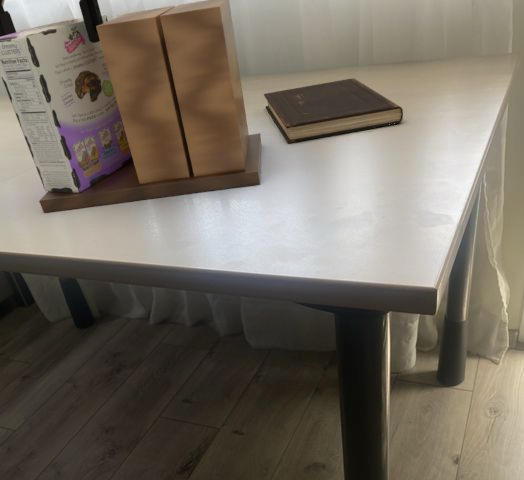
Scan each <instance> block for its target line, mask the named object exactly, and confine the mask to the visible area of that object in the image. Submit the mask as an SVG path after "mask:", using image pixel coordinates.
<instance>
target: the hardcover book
mask: <svg viewBox="0 0 524 480" xmlns="http://www.w3.org/2000/svg"><path fill="white" fill-rule="evenodd" d="M263 96H264V98H265V100H266V102H267V105H266V106H265V109H266V110H267V113H268V114H269V115H270V117H271V118H272V120H273V122H274V124H276V126H277V128H278V130H279V132H280V133H281V134H282V136H283V137H284V139H285V141H286V142H287V144H293V143H294V144H295V143H298V142H304V141H310V140H316V139H322V138H326V137H327V138H328V137H333V136H339V135H344V134H349V133H350V134H351V133H355V132H360V131H366V130H365V129H367V130H371V129H370V128H373V129H375V128H374V127H378V128H380V127H379V126H384V125H389V124H394V123H399V124H400V123H401V122H402V121H403V117H404V109H403V107H402V106H400V105H398V104H397V103H395V102H393V101H392V100H390V99H388V98H387V97H386V96H384V95H382V94H381V93H379V92H377V91H376V90H374V89H372V88H371V87H369V86H367V85H366V84H364V83H362V82H361V81H359V80H358V79H356V78H355V77H352V78H346V79H341V80H334V81H329V82H324V83H319V84H318V83H317V84H311V85H307V86H301V87H294V88H290V89H289V88H288V89H283V90H279V91H278V90H277V91H272V92H267V93H264V94H263ZM384 127H385V126H384Z"/></svg>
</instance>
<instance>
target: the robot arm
mask: <svg viewBox="0 0 524 480" xmlns="http://www.w3.org/2000/svg"><path fill="white" fill-rule="evenodd" d="M5 1H6V0H0V37H2V36H5V35H9V34H13V33H16V32H17V30H16V28H15V24H14V21H13V19H12V16H11V13H10V12H9V11H8V10H5V8H4V4H5ZM78 5H79V8H80V12H81V16H82V18H83V20H84V23H85V27H86V30H87V34H88V37H89V41H90V42H92V43H96V42H99V41H100V39H99V35H98V32H97V28H96V26H98V25H100V24H103V20H102V16H101V15H102V12H101V8H100V5H99V0H79V1H78Z"/></svg>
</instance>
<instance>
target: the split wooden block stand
mask: <svg viewBox="0 0 524 480" xmlns="http://www.w3.org/2000/svg"><path fill="white" fill-rule="evenodd" d="M231 10H232V9H231V4H230V0H201V1H195V2H188V3H181V4H178V5H177V6H175V5H171V6H165V7H159V8H153V9H147V10H139V11H134V12H128V13H125V14H122V15H120V16H118V17H115V18H113V19H110V20H108V21H107V22H105V23H103V24H100V25H98V26H96V28H97V32H98V35H99V39H100V43H101V46H102V50H103V53H104V57H105V61H106V64H107V68H108V71H109V75H110V79H111V82H112V86H113V89H114V93H115V97H116V100H117V104H118V107H119V111H120V115H121V118H122V122H123V125H124V129H125V133H126V136H127V140H128V143H129V147H130V151H131V154H132V158H133V160H132V161H130V162H129V163H127V164H126V165H124V166H122V167H121V168H119V169H118V170H116V171H114V172H113V173H111V174H109V175H108V176H106V177H104V178H103V179H102V180H100V181H98V182H96V183H95V184H93V185H92V186H90V187H89V188H87V189H85V190H84V191H82V192H79V193H70V192H52V191H46V192H45V194H44V195H43V196H42V197H41V198H40V199H39V201H38V202H39V204H40V207H41V210H42V212H43V213H53V212H60V211H67V210H76V209H83V208H89V207H91V208H92V207H98V206H104V205H105V206H107V205H113V204H120V203H128V202H129V203H130V202H134V201H135V202H136V201H137V202H138V201H143V200H150V199H151V200H152V199H158V198H167V197H172V196H173V197H175V196H180V195H182V196H183V195H190V194H197V193H205V192H212V191H219V190H226V189H233V188H235V189H236V188H242V187H249V186H256V185H261V170H262V169H261V165H262V138H261V133H253V134H249V127H248V121H247V113H246V106H245V100H244V93H243V86H242V79H241V71H240V66H239V58H238V51H237V45H236V38H235V31H234V24H233V19H232V18H233V16H232V13H231V12H232V11H231Z"/></svg>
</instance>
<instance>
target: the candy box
mask: <svg viewBox="0 0 524 480" xmlns="http://www.w3.org/2000/svg"><path fill="white" fill-rule="evenodd" d="M101 16H102V20H103V23H105V22H107V21H109V20H108V16H107V15H106V14H105V13H104V14H101ZM0 78H1V80H2V83H3V85H4V88H5V90H6V93H7V95H8V98H9V101H10V103H11V106H12V108H13V111H14V113H15V116H16V119H17V121H18V124H19V127H20V130H21V132H22V134H23V136H24V140H25V142H26V145H27V147H28V151H29V153H30V155H31V158H32V160H33V163H34V166H35V168H36V170H37V173H38V176H39V178H40V181H41V184H42V186H43V189H44V191H45V192H48V191H52V192H70V193H79V192H82V191H84V190H85V189H87V188H89V187H90V186H92V185H93V184H95V183H96V182H98V181H100V180H102V179H103V178H104V177H106V176H108V175H109V174H111V173H113V172H114V171H116V170H118V169H119V168H121V167H122V166H124V165H126V164H127V163H129V162H130V161H132V160H133V158H132V154H131V151H130V147H129V143H128V140H127V136H126V133H125V129H124V125H123V122H122V118H121V115H120V111H119V107H118V104H117V100H116V97H115V93H114V89H113V86H112V82H111V79H110V75H109V71H108V68H107V64H106V61H105V57H104V53H103V50H102V46H101V43H100V41H99V42H96V43H92V42H90V41H89V37H88V34H87V30H86V27H85V23H84V20H83V17H78V18H72V19H66V20H65V19H64V20H61V21H57V22H52V23H48V24H44V25H39V26H37V27H36V26H35V27H32V28H28V29H24V30H20V31H16V33H13V34H9V35H5V36H2V37H0Z"/></svg>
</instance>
